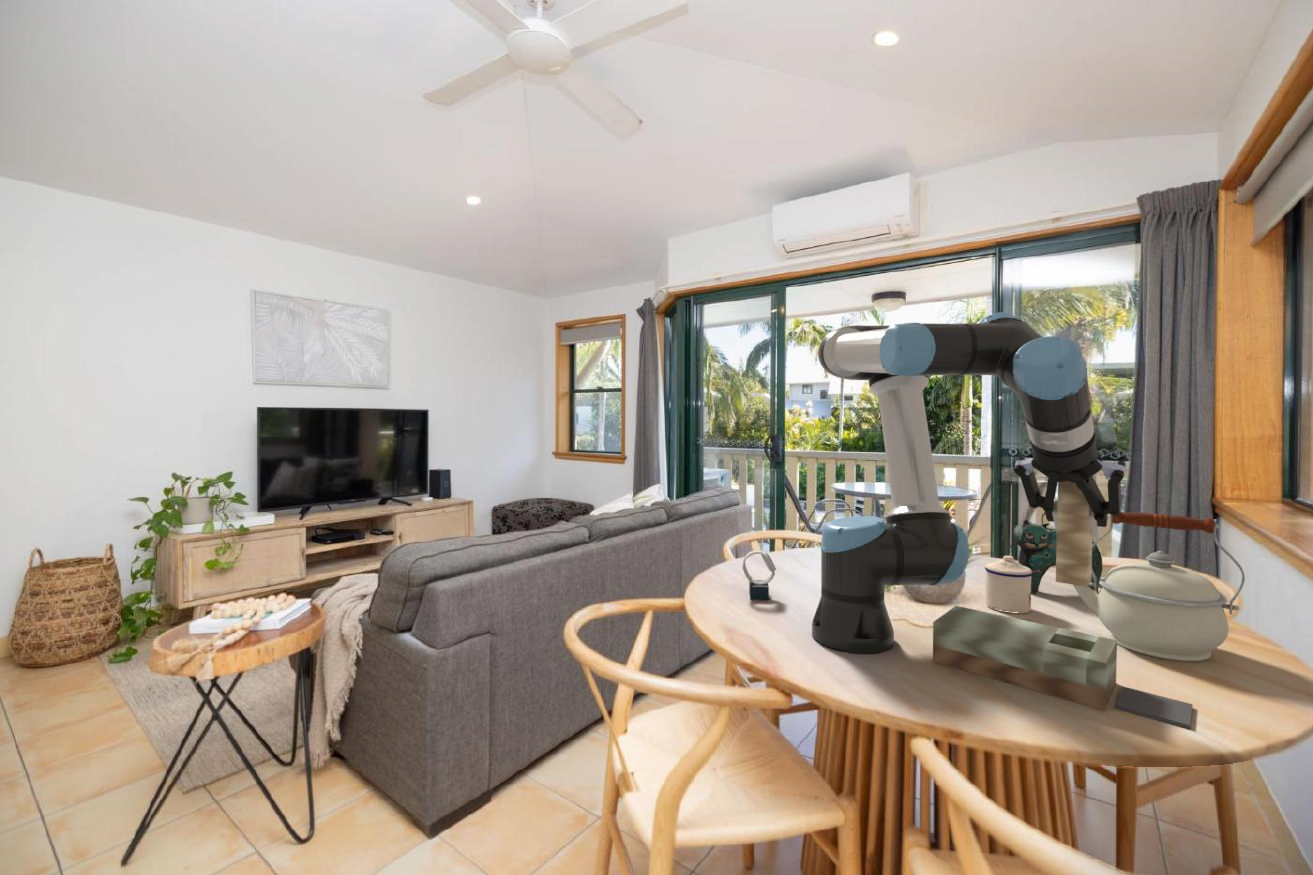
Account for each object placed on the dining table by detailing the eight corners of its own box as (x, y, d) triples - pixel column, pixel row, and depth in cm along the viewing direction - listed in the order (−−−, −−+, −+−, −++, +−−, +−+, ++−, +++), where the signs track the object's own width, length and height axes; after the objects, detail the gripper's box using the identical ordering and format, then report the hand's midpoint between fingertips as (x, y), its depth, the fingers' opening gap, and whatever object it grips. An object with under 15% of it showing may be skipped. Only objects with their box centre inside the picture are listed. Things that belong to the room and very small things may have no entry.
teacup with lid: (1041, 615, 122) (1042, 561, 122) (997, 614, 123) (998, 561, 122) (1010, 597, 134) (1011, 548, 134) (970, 596, 135) (971, 548, 134)
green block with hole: (932, 661, 100) (933, 622, 99) (955, 641, 108) (955, 605, 108) (1105, 710, 83) (1106, 663, 82) (1116, 683, 91) (1117, 640, 91)
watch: (777, 600, 133) (777, 554, 133) (742, 599, 134) (742, 553, 134) (775, 593, 139) (775, 548, 138) (742, 592, 140) (742, 548, 139)
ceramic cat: (1022, 594, 136) (1023, 512, 135) (1006, 586, 143) (1007, 508, 142) (1106, 595, 135) (1108, 512, 135) (1087, 587, 142) (1088, 508, 141)
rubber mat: (1115, 708, 83) (1115, 704, 83) (1122, 689, 89) (1122, 686, 89) (1190, 728, 78) (1190, 725, 78) (1192, 707, 83) (1192, 704, 83)
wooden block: (1055, 581, 90) (1058, 481, 89) (1060, 576, 93) (1063, 479, 92) (1087, 587, 87) (1089, 483, 86) (1091, 581, 90) (1093, 481, 89)
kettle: (1240, 648, 104) (1244, 514, 103) (1243, 681, 91) (1248, 528, 90) (1073, 615, 122) (1076, 500, 121) (1056, 639, 109) (1059, 511, 108)
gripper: (987, 452, 84) (1014, 543, 96) (1137, 458, 72) (1145, 561, 84) (998, 416, 88) (1022, 508, 100) (1142, 416, 75) (1150, 521, 88)
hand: (1078, 532), depth 92 cm, fingers closed on wooden block, 4 cm apart
